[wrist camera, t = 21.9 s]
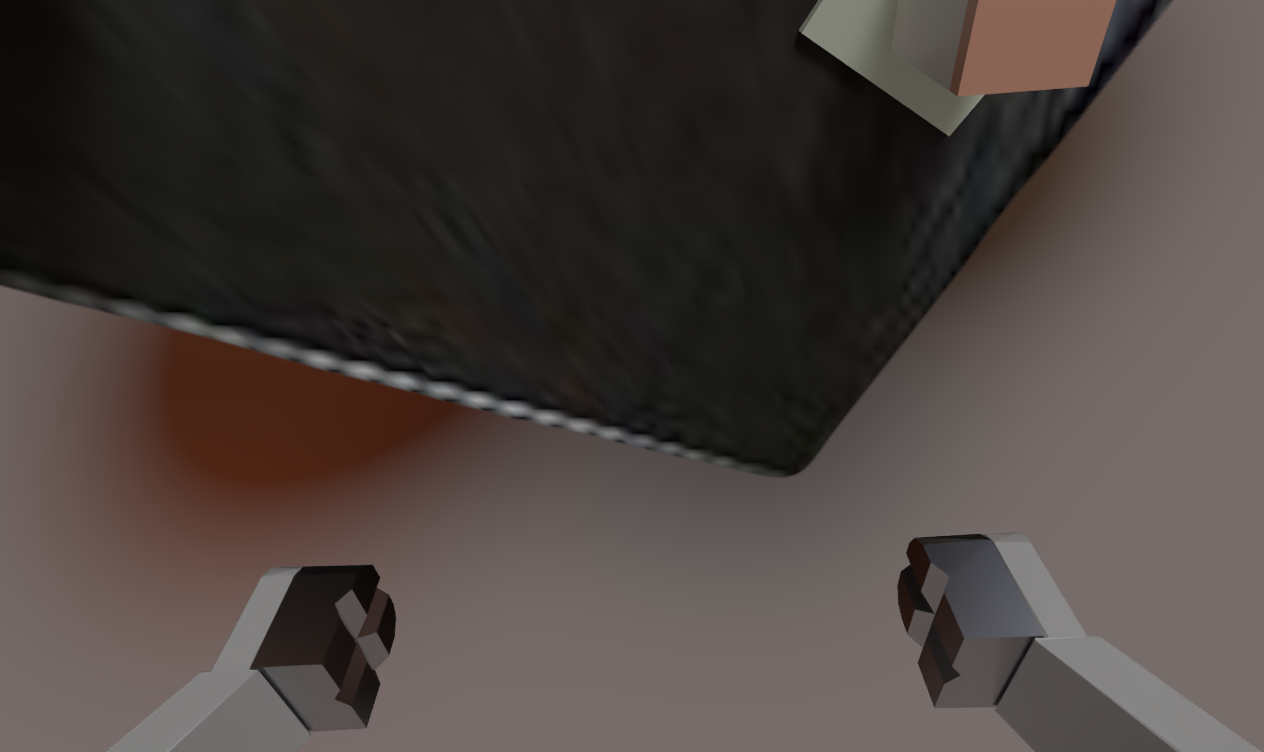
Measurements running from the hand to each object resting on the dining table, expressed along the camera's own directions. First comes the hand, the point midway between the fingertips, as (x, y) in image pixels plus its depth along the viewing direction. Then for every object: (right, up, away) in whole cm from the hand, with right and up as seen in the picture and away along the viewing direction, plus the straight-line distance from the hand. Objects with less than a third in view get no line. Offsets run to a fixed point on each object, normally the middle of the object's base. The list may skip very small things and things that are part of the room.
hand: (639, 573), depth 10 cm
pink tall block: (+18, +25, +27) cm, 41 cm away
